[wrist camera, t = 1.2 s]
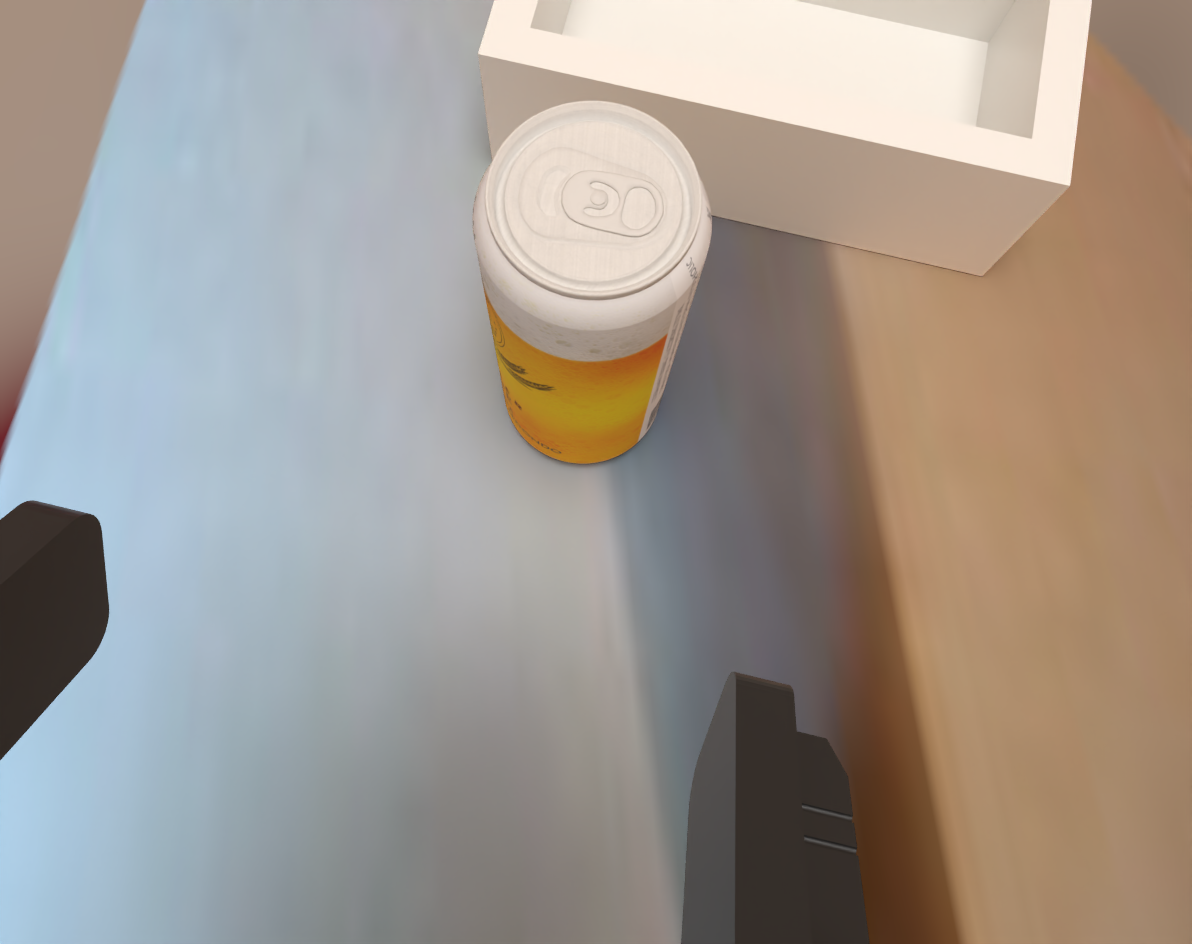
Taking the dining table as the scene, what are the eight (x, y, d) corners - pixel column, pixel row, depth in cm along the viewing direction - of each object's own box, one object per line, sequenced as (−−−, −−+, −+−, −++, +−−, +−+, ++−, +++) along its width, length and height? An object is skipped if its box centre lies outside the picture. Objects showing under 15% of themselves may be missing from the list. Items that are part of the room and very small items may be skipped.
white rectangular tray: (1015, 37, 42) (1102, -92, 35) (982, 276, 39) (1069, 185, 32) (559, -63, 43) (558, -209, 36) (492, 166, 40) (478, 54, 33)
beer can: (525, 309, 38) (502, 63, 24) (672, 341, 38) (739, 115, 23) (488, 449, 37) (439, 279, 22) (641, 484, 36) (692, 336, 22)
